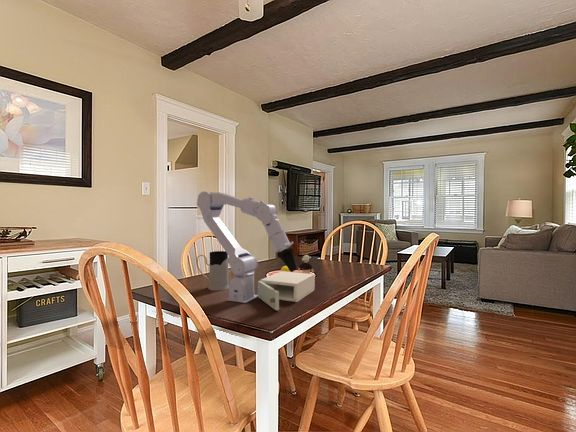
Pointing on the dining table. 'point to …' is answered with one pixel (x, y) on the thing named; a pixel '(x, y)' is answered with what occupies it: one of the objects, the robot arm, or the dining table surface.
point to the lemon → (285, 269)
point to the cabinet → (291, 285)
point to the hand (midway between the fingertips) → (293, 270)
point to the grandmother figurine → (306, 265)
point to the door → (268, 295)
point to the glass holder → (217, 270)
